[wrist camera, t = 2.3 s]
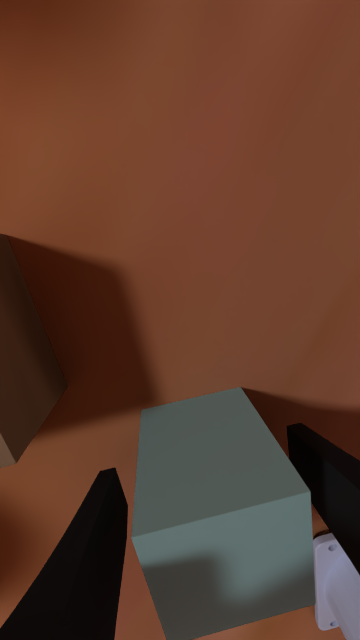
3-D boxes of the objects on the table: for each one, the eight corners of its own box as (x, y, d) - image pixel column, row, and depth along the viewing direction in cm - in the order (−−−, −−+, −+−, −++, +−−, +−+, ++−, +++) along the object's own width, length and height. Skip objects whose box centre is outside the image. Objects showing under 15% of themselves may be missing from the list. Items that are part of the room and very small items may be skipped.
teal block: (240, 386, 11) (310, 491, 6) (250, 464, 12) (315, 603, 7) (141, 408, 10) (131, 537, 6) (162, 486, 12) (168, 645, 7)
